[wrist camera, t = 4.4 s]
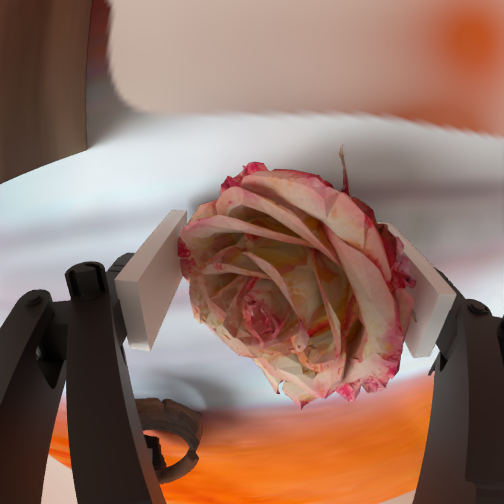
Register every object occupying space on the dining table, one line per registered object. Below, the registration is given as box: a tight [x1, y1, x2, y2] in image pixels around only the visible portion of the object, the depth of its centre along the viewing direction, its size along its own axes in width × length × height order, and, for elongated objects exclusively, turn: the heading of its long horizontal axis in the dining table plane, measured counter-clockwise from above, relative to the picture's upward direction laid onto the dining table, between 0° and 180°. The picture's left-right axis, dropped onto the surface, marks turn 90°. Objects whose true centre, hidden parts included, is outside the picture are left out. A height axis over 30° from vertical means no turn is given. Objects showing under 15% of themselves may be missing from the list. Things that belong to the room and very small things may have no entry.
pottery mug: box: [135, 398, 202, 484], centre depth 21 cm, size 12×10×8 cm
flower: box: [178, 145, 417, 409], centre depth 12 cm, size 10×9×8 cm
